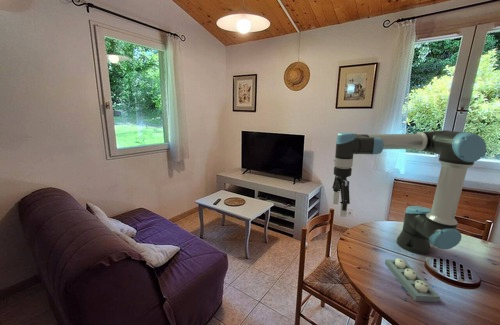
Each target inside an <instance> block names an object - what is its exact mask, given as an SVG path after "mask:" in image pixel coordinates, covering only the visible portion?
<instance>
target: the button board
mask: <svg viewBox="0 0 500 325" xmlns="http://www.w3.org/2000/svg"><path fill="white" fill-rule="evenodd" d="M395 260H396V259H387V258H386V259H385V262H384V265H385V266H386V267H387V268H388V270H390V272H391V274H393V276H394V277H395V278H396V279H397V281H398V282H399V283H400V284H401V285H402V287H403V288H404V290H406V291H407V293H408V294H409V295H410V296H411V298H412V299H413V300H414V301H415V302H430V303H431V302H433V303H439V302H440V298H441V296H440V295H439V294H438V293H437V292H436V291H435V290H434V289H433V288H432V287H431V286H430V285H429V284H428V291H427V293H418V291H417V290H416V289H415V288H414V287H415V282H416V280H421V281H423V282H425V283H427V282H426V281H425V280H424V278H422V277H421V276H420V274H419V273H418V272H417V271H416V270H415V269H414V268H413V267H412V266H411V265H410V264H409V263H408V262H407V261H406V260H405V259H403V260H404V261H406V267H405V269H407V268H408V269H412V270H414V271H415V272H416V273H417V274H416V279H415V280H407V279H406V278H405V276H404V272H405V269H398V268H397V267H396V266H395Z"/></svg>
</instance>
